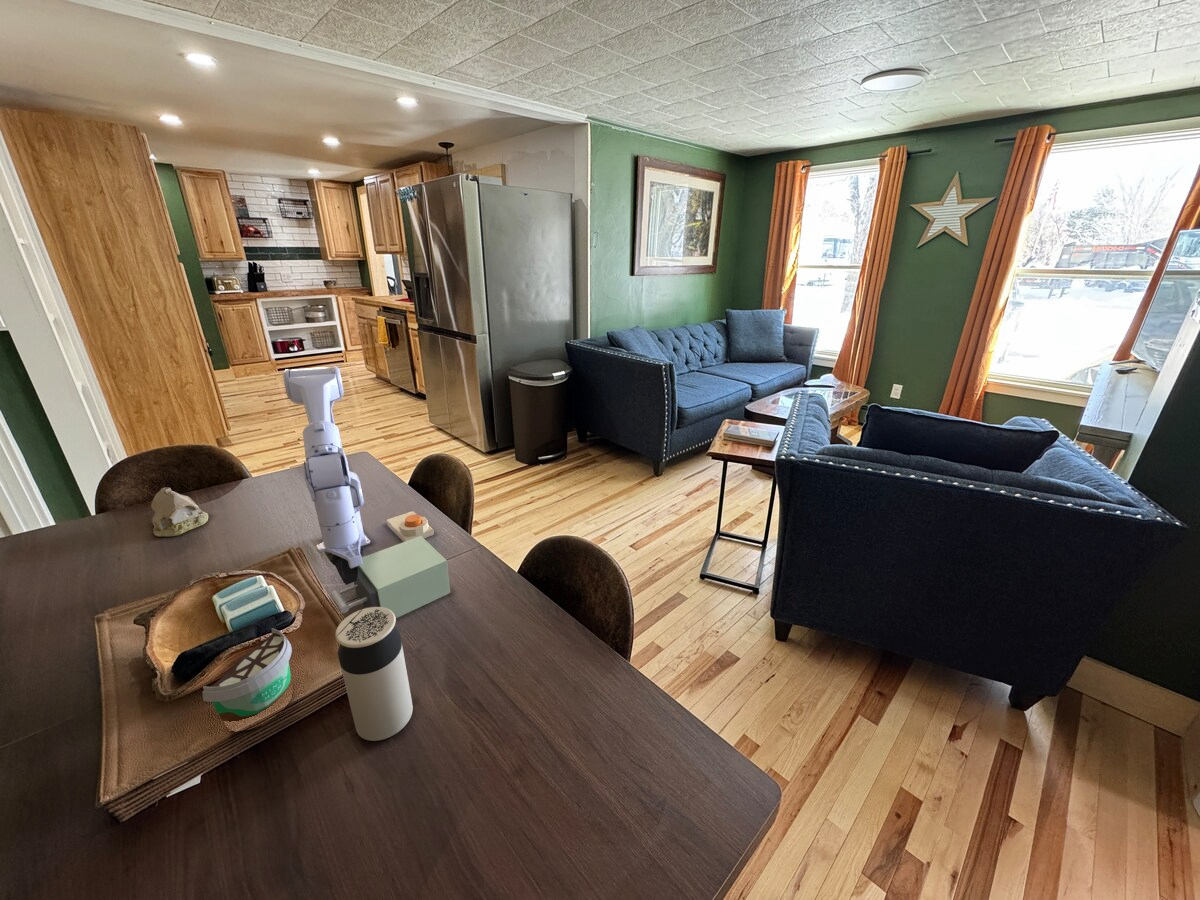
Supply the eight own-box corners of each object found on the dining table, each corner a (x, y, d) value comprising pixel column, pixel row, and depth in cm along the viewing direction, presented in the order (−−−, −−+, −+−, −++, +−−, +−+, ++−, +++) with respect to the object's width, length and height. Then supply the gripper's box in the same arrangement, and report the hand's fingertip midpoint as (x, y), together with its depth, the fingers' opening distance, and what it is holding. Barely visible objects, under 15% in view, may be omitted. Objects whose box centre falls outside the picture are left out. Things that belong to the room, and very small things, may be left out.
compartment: (348, 633, 86) (342, 606, 83) (330, 603, 93) (324, 577, 91) (438, 592, 97) (435, 567, 94) (415, 568, 104) (412, 544, 102)
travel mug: (424, 703, 74) (409, 613, 67) (387, 750, 67) (367, 653, 60) (383, 688, 76) (364, 599, 69) (343, 732, 69) (319, 637, 62)
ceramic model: (217, 521, 121) (205, 487, 117) (161, 542, 112) (147, 505, 108) (194, 506, 128) (182, 473, 124) (140, 524, 119) (126, 489, 115)
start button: (403, 523, 117) (402, 517, 116) (417, 518, 119) (416, 512, 119) (409, 529, 114) (408, 523, 114) (423, 524, 117) (423, 518, 116)
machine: (383, 624, 90) (377, 589, 86) (361, 592, 98) (355, 559, 95) (450, 592, 98) (446, 560, 95) (425, 566, 106) (421, 535, 103)
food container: (256, 750, 66) (237, 698, 63) (219, 741, 68) (198, 689, 64) (320, 679, 78) (308, 632, 74) (288, 672, 79) (274, 625, 75)
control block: (387, 525, 122) (385, 513, 120) (413, 516, 126) (412, 504, 125) (406, 545, 114) (404, 533, 112) (434, 535, 118) (432, 523, 117)
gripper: (300, 510, 86) (315, 571, 91) (324, 543, 76) (339, 610, 81) (342, 498, 90) (354, 557, 96) (369, 528, 81) (381, 593, 86)
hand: (350, 581), depth 89 cm, fingers closed
